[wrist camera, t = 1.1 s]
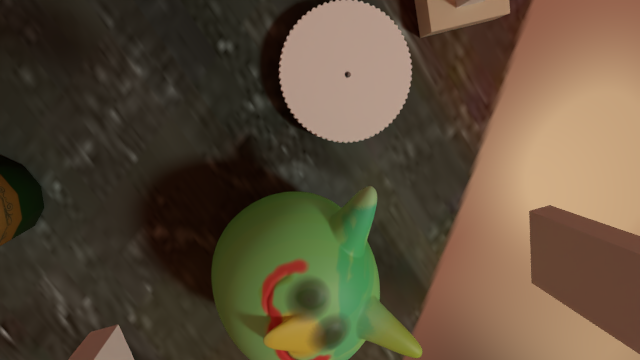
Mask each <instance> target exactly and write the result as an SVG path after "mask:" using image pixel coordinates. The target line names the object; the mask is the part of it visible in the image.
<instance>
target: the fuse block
mask: <svg viewBox="0 0 640 360" xmlns="http://www.w3.org/2000/svg"><path fill="white" fill-rule="evenodd" d="M415 7H416V13H417V20H418V27H419V33H420V38H421V37H425V36H429V35H433V34H437V33H442V32H446V31H450V30H454V29H458V28H462V27H466V26H470V25H474V24H478V23H482V22H486V21H490V20H494V19H497V18H499V17H502V16H504V15H507V14H509V13H510V5H509V0H415Z"/></svg>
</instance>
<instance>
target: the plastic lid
mask: <svg viewBox="0 0 640 360" xmlns="http://www.w3.org/2000/svg"><path fill="white" fill-rule="evenodd" d="M404 38H405V37H404V36H402V35H401V30H398V26H397V25H395V24H394V21H393V20H392V21H391V20H390V17H389V16H386V15H385V13H384V12H380V9H379V8H378V9H376V8H375V6H373V5H372V6H369V3H366V4H364V3H363V1H360V2H358V1H357V0H354V1H351V0H347V1H345V0H341V1H339V0H336V1H335V2H333V1H330V2H329V3H328V4H327V3H326V2H325V3H324V4H323V5H322V6H321V5H318V6H317V8H315V7H314V8H313V9H312V11H311V12H310V11H308V12H307V14H306V16H305V15H303V16H302V18H301V20H298V21H297V24H296V25H294V26H293V29H292V30H291V31H290V32H289V36H287V38H286V42H284V46H283V48H282V52H281V56H280V60H281V61H280V62H279V66H280V68H279V73H280V74H279V79H280V82H279V85H281V88H280V90H281V91H282V92H283V94H282V97H284V98H285V100H284V102H285V103H287V108H290V113H292V114H293V117H294V118H297V122H298V123H301V126H303V127H306V128H305V129H306V130H308V131H310V132H311V133H313V134H315V135H316V136H318V137H321V138H323V139H327V140H329V141H330V140H331V141H333V142H336V141H337V142H339V143H342V142H344V143H347V142H350V143H352V142H353V141H355V142H358V141H359V140H364V138H366V139H368V138H369V136H372V137H373V136H374V134H378V133H379V131H380V130H381V131H383V130H384V127H388V124H389V123H392V122H393V121H392V120H393V119H395V118H396V115H397V114H399V113H400V112H399V110H400V109H402V108H403V106H402V105H403V104H405V99H406V98H407V97H408V96H407V93H409V91H410V90H409V87H410V86H411V84H410V81H411V80H412V78H411V77H410V76H411V75H412V72H411V68H412V65H410V63H411V62H412V61H411V59H410V56H411V55H410V53H408V50H409V48H408V47H407V46H406V44H407V42H406V41H404ZM345 76H346V77H345Z"/></svg>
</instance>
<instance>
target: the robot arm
mask: <svg viewBox="0 0 640 360" xmlns="http://www.w3.org/2000/svg"><path fill="white" fill-rule="evenodd" d="M529 214H530V244H531V278H532V283H533V284H534V285H536V286H537V287H539V288H541V289H542V290H544V291H545V292H546V293H548V294H549V295H551V296H553V297H554V298H556V299H557V300H559V301H560V302H562V303H563V304H565V305H566V306H568V307H569V308H571V309H572V310H574V311H575V312H577V313H578V314H580V315H581V316H583V317H584V318H586V319H587V320H589V321H590V322H592V323H593V324H595V325H596V326H598V327H600V328H601V329H603V330H604V331H605V332H607V333H609V334H610V335H612V336H613V337H615V338H616V339H618V340H619V341H621V342H622V343H624V344H625V345H627V346H628V347H630V348H631V349H633V350H634V351H636V352H637V353H639V354H640V236H638V235H634V234H632V233H629V232H626V231H623V230H620V229H617V228H614V227H611V226H609V225H605V224H603V223H600V222H597V221H594V220H591V219H588V218H585V217H582V216H579V215H576V214H573V213H571V212H568V211H565V210H562V209H559V208H556V207H553V206H550V205H549V206H546V207H542V208H538V209H535V210H532V211H529ZM68 360H134V358H133V356H132V354H131V352H130V349H129V347H128V345H127V343H126V340H125V338H124V336H123V334H122V332H121V329H120V327H119V325H115V326H111V327H107V328H104V329H100V330H96V331H93V332H90V333H89V334H88V336H87V337H86V338H85V339H84V341H83V342H82V343H81V344H80V346H79V347H78V348H77V349H76V351H75V352H74V353H73V354H72V356H71V357H70V358H69V359H68Z"/></svg>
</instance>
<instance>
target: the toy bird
mask: <svg viewBox="0 0 640 360" xmlns="http://www.w3.org/2000/svg"><path fill="white" fill-rule="evenodd" d="M376 205H377V193H376V190H375V189H374V188H373V187H372V186H367V187H365V188H363V189H362V190H360V191H359V192H358V193H357V194H356V195H355V196H354V197H352V198H351V199H350V200H349V201H348V202H347V203H346V204H345V205H344V206H343V207H342V208H341V207H340V206H338V205H337V204H335V203H334V202H332V201H330V200H329V199H327V198H324V197H322V196H319V195H316V194H312V193H307V192H283V193H277V194H273V195H270V196H267V197H264V198H262V199H260V200H258V201H256V202H254V203H252V204H250V205H249V206H247V207H246V208H244V209H243V210H242V211H241V212H239V213H238V214H237V215H236V216H235V217H234V218H233V219H232V220H231V221H230V223H229V224H228V225H227V227H226V228H225V229H224V231H223V233H222V234H221V236H220V238H219V240H218V242H217V245H216V248H215V251H214V255H213V260H212V270H211V280H212V290H213V296H214V300H215V304H216V308H217V311H218V314H219V316H220V319H221V321H222V323H223V325H224V327H225V329H226V331H227V333H228V334H229V336H230V338H231V339H232V341H233V342H234V343H235V345H236V346H237V347H238V348H239V349H240V350H241V352H242V353H243V354H244V355H245V356H247V357H248V358H249V359H250V360H348V359H349V358H350V357H351V356H353V355H354V354H355V353H356V352H357V350H358V349H359V348H360V347H361V346H362V344H363V343H364V342H365V340H368V341H370V342H373V343H375V344H378V345H380V346H383V347H385V348H387V349H390V350H392V351H395V352H397V353H400V354H403V355H405V356H409V357H413V358H419V357H421V355H422V348H421V346H420V344H419V343H418V342H417V340H416V339H415V338H414V337H413V336H412V334H411V333H410V332H409V331H408V330H407V329H406V328H405V327H404V326H403V325H402V324H401V323H400V322H399V321H398V320H397V319H396V318H395V317H394V316H393V315H392V314H391V313H390V312H389V311H388V310H387V309H386V308H385V307H384V306H383V305H382V304H381V303H380V302H379V298H380V285H379V276H378V270H377V266H376V262H375V259H374V256H373V253H372V250H371V248H370V246H369V244H368V242H367V238H368V235H369V231H370V228H371V225H372V221H373V218H374V214H375V210H376Z"/></svg>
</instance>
